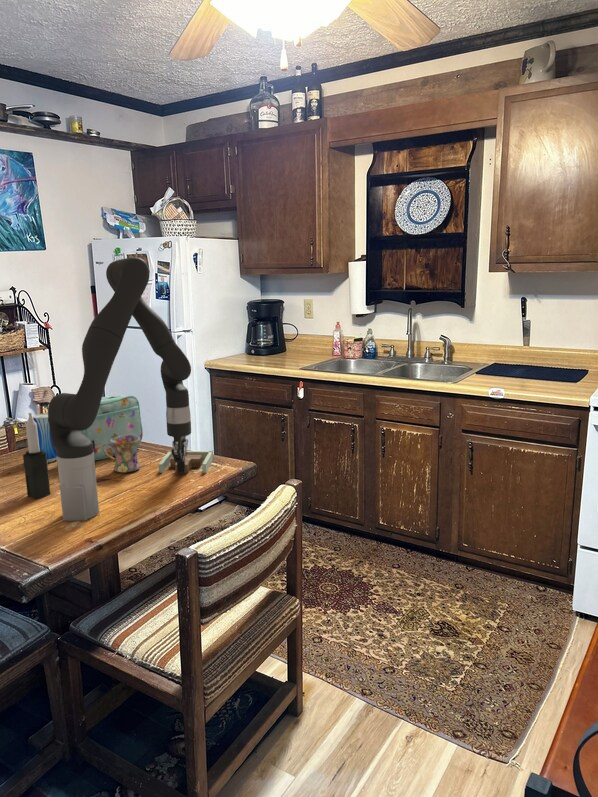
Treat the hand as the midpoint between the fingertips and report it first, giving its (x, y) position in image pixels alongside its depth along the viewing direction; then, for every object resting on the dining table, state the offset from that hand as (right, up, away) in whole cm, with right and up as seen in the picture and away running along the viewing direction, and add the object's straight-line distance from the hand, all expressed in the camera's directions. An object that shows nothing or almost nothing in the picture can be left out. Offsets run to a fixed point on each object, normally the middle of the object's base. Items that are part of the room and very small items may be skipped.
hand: (181, 472), depth 189 cm
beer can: (-50, +2, +17) cm, 53 cm away
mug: (-21, 0, +6) cm, 21 cm away
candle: (-39, -5, -15) cm, 42 cm away
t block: (0, 0, +7) cm, 7 cm away
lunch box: (-31, +4, +24) cm, 39 cm away
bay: (0, +1, +9) cm, 9 cm away
